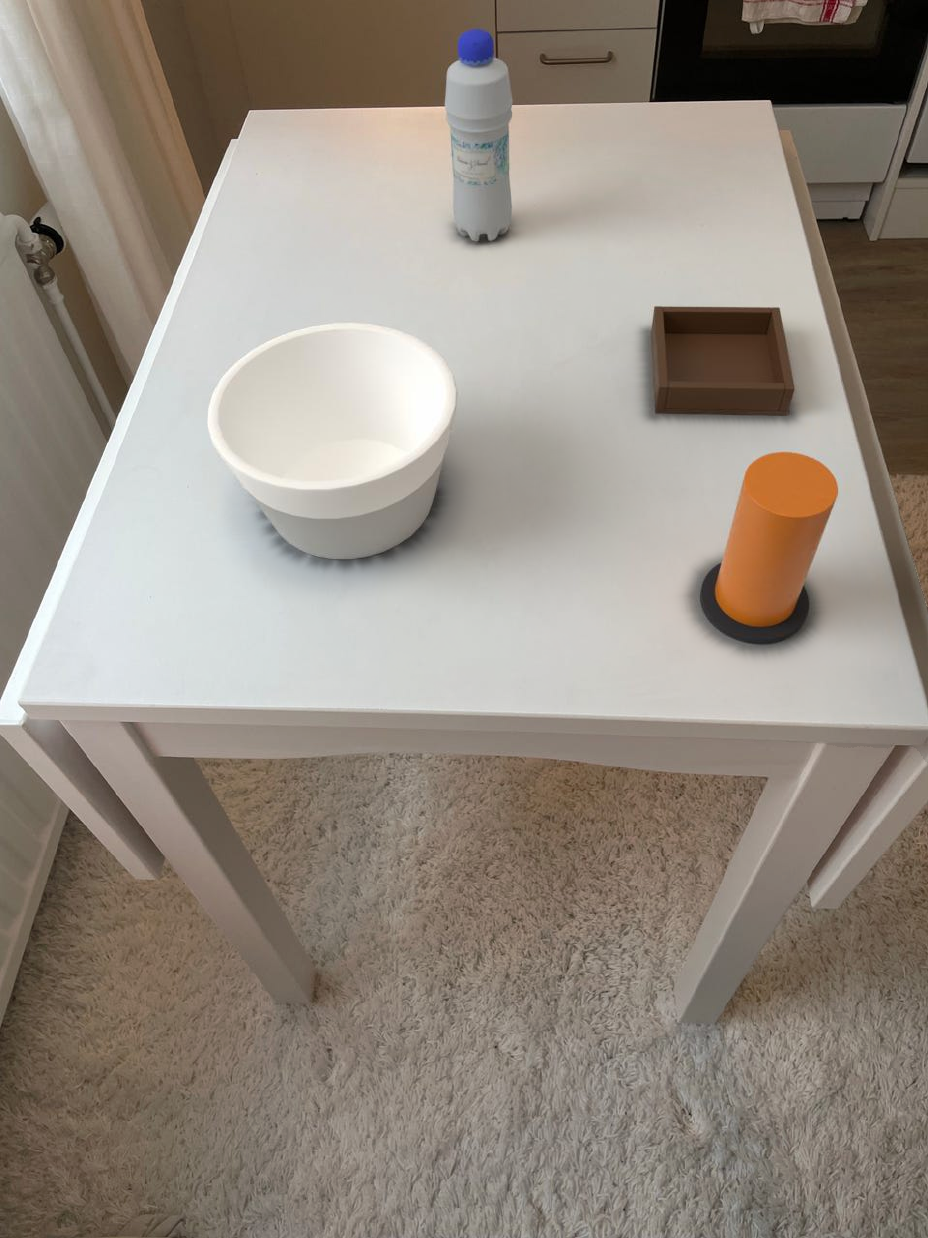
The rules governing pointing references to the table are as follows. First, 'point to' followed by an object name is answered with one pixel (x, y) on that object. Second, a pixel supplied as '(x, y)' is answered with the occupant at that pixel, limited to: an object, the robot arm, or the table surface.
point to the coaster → (745, 631)
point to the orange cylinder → (774, 537)
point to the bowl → (337, 434)
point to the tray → (720, 361)
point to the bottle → (479, 137)
